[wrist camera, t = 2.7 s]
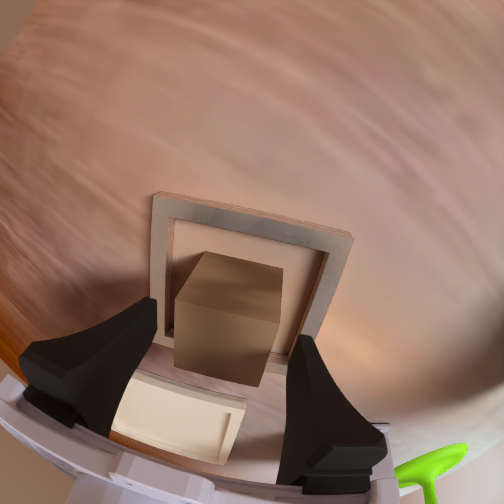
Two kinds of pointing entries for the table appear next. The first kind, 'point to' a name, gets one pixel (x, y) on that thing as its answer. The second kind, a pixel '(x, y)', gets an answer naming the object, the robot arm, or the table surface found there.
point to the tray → (179, 417)
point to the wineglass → (429, 469)
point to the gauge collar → (249, 223)
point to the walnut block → (227, 318)
